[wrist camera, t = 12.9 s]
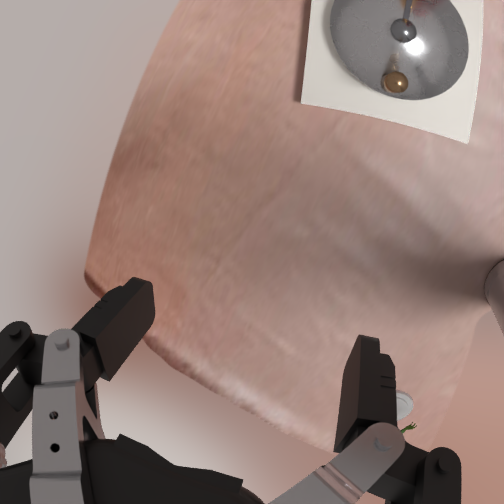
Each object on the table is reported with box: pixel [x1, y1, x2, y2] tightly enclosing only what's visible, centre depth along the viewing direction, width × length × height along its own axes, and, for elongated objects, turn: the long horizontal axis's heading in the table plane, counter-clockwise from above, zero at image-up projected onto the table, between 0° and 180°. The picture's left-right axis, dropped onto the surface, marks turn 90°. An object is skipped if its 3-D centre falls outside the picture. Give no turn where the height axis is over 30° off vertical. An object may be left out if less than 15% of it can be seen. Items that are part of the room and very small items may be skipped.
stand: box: [301, 0, 483, 144], centre depth 29 cm, size 22×23×4 cm
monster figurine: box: [396, 390, 416, 434], centre depth 55 cm, size 12×12×10 cm
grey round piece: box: [330, 0, 469, 100], centre depth 25 cm, size 17×17×8 cm
